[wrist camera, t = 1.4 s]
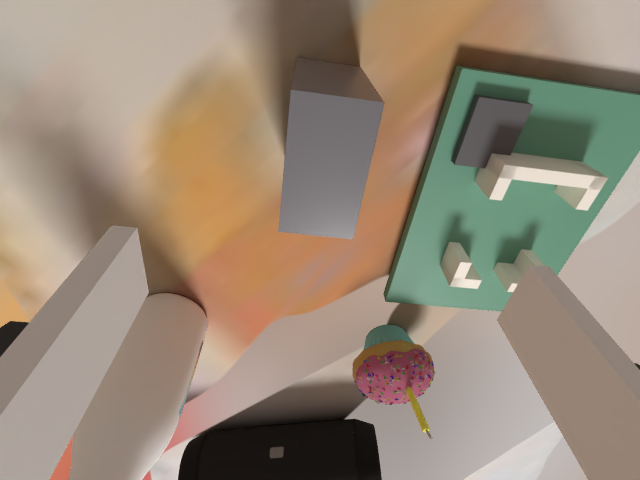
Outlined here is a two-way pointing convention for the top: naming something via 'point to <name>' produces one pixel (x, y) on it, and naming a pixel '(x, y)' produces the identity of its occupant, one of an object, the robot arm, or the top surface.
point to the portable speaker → (285, 453)
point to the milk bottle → (141, 392)
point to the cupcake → (394, 369)
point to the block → (328, 148)
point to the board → (509, 185)
